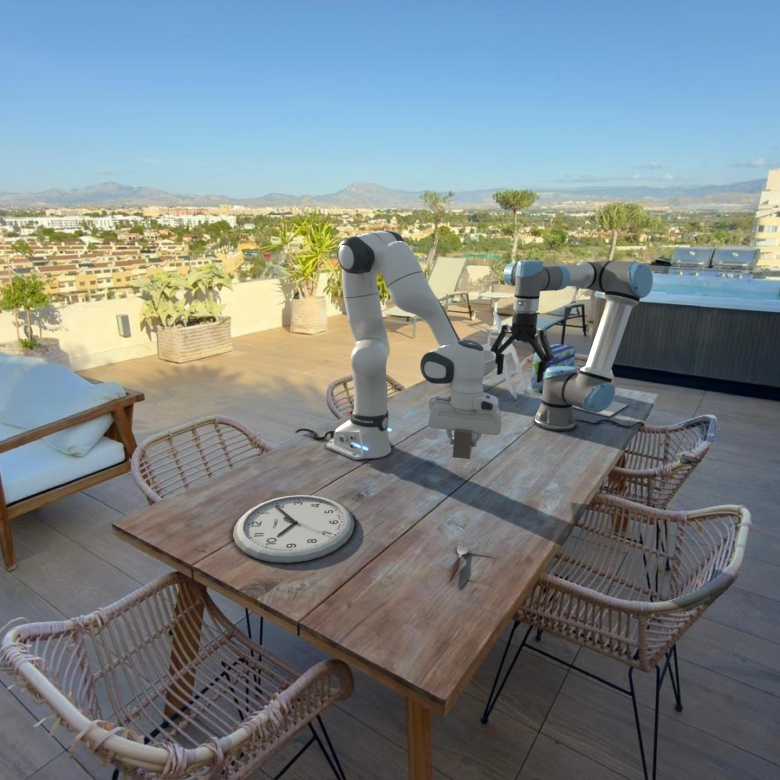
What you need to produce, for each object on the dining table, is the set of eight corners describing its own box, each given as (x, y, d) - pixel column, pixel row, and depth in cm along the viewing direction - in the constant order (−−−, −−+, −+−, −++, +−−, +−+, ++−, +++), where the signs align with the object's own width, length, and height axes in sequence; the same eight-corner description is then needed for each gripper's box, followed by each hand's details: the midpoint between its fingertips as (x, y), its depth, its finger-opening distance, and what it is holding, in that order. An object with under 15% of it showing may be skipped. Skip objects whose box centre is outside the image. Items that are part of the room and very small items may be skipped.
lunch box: (547, 396, 238) (552, 351, 232) (526, 391, 246) (531, 347, 239) (574, 385, 256) (579, 343, 250) (554, 380, 263) (559, 340, 257)
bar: (461, 428, 169) (463, 404, 166) (476, 430, 168) (478, 406, 165) (452, 457, 148) (454, 430, 145) (469, 459, 147) (471, 432, 144)
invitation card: (608, 416, 214) (573, 407, 224) (608, 416, 214) (573, 408, 224) (628, 404, 229) (594, 396, 238) (628, 405, 229) (594, 397, 238)
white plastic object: (461, 429, 252) (437, 405, 227) (444, 352, 274) (420, 323, 250) (535, 404, 240) (518, 377, 215) (510, 326, 262) (492, 293, 237)
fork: (443, 582, 112) (444, 574, 112) (460, 542, 127) (460, 535, 126) (455, 584, 112) (456, 576, 111) (471, 544, 126) (471, 537, 125)
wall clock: (355, 554, 119) (220, 559, 116) (355, 560, 119) (221, 565, 117) (353, 490, 147) (244, 493, 145) (353, 495, 148) (245, 498, 145)
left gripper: (427, 398, 145) (425, 444, 149) (502, 406, 140) (498, 453, 144) (431, 392, 150) (429, 436, 155) (503, 398, 146) (499, 444, 150)
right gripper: (483, 308, 166) (478, 373, 172) (560, 317, 151) (552, 387, 158) (493, 306, 171) (489, 368, 178) (569, 314, 157) (561, 382, 163)
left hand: (463, 444), depth 149 cm, fingers closed on bar, 5 cm apart
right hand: (519, 377), depth 168 cm, fingers open, 13 cm apart
